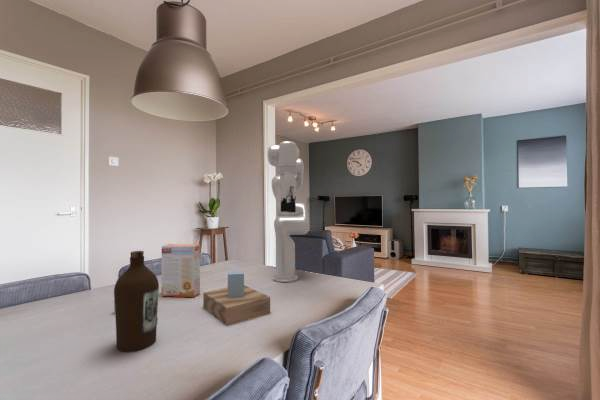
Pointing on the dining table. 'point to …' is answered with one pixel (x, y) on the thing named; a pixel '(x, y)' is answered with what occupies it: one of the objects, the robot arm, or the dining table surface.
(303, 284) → the dining table surface
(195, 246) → the cracker box
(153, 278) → the olive oil
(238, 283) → the blue block
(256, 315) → the riser block
